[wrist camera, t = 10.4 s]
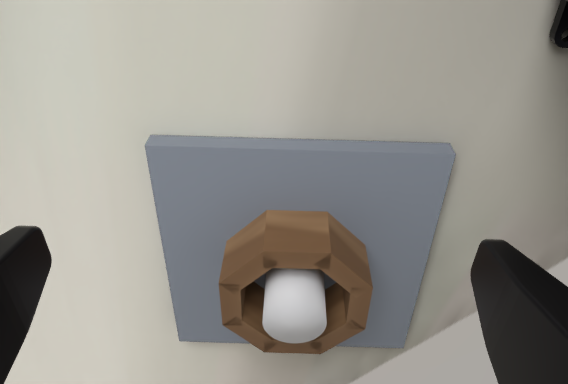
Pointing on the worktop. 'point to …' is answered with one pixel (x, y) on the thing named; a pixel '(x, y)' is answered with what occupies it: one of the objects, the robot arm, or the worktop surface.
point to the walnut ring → (295, 255)
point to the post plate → (296, 197)
